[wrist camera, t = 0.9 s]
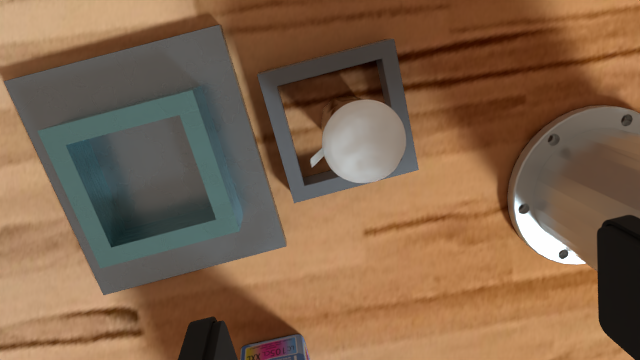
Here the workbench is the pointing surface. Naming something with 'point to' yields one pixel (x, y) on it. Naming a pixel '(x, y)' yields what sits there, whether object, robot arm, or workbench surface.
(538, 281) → the workbench surface
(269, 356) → the ink cartridge box
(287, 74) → the square picture frame
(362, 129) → the milkshake
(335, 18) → the workbench surface
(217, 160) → the panel
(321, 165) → the workbench surface
